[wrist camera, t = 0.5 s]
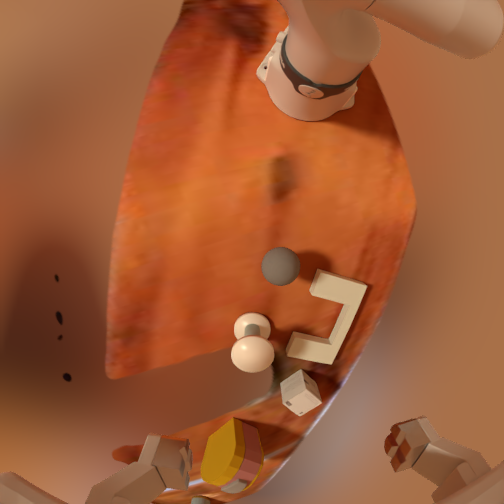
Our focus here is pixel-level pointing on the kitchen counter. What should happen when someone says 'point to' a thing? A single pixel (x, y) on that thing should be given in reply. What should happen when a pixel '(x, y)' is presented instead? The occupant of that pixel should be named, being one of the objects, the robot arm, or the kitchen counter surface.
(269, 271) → the light bulb
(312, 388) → the skincare box
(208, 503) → the bottle
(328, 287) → the notched board
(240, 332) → the bobbin
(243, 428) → the alarm clock
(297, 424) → the kitchen counter surface
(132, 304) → the kitchen counter surface
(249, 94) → the kitchen counter surface
